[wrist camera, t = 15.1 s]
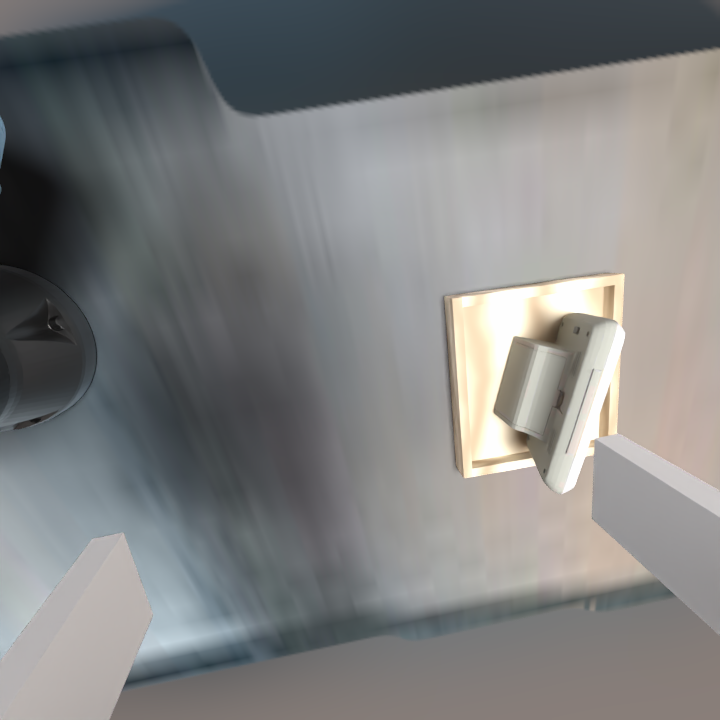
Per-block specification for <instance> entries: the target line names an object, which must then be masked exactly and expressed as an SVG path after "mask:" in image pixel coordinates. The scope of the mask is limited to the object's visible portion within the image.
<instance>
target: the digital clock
mask: <svg viewBox="0 0 720 720" xmlns="http://www.w3.org/2000/svg"><path fill="white" fill-rule="evenodd" d="M624 339H625V331H624V330H623V329H622V327H621V326H620V325H619V324H618V322H617V321H615V320H612V319H608V318H604V317H599V316H594V315H589V314H585V313H572V314H569V315H567V316H565V317H564V318H563V319H562V321H561V324H560V327H559V330H558V334H557V337H556V340H555V343H554V342H548V341H542V340H536V339H530V338H524V337H518V336H515V337H514V339H513V343H512V347H511V350H510V354H509V358H508V361H507V365H506V369H505V372H504V376H503V380H502V383H501V387H500V391H499V394H498V398H497V402H496V405H495V409H494V414H496V415H497V416H498V417H499V418H500V419H501V420H503V421H504V422H505V423H506V424H507V425H509V426H510V427H511V428H513V429H515V430H518V431H522V432H525V433H527V434H528V435H527V439H526V443H527V446H528V449H529V451H530V453H531V455H532V458H533V460H534V462H535V464H536V467H537V469H538V471H539V473H540V475H541V477H542V479H543V481H544V482H545V484H546V485H547V486H548V487H549V488H550V489H551V490H552V491H554V492H555V493H558V494H563V493H565V492H567V491H569V490H571V489H573V488H574V486H575V484H576V481H577V478H578V476H579V473H580V470H581V467H582V464H583V461H584V458H585V455H586V452H587V449H588V446H589V444H590V441H591V438H592V435H593V432H594V429H595V426H596V423H597V420H598V417H599V414H600V411H601V408H602V405H603V402H604V399H605V396H606V393H607V390H608V388H609V385H610V382H611V379H612V376H613V373H614V370H615V367H616V364H617V361H618V358H619V355H620V352H621V349H622V345H623V342H624Z"/></svg>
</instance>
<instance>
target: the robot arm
mask: <svg viewBox="0 0 720 720" xmlns="http://www.w3.org/2000/svg"><path fill="white" fill-rule="evenodd" d="M5 139H6V131H5V126H4V123H3V121H2V118H1V116H0V167H1V162H2V156H3V150H4V145H5ZM0 193H1V185H0ZM95 366H96V347H95V341H94V338H93V334H92V331H91V329H90V326H89V324H88V322H87V320H86V318H85V317H84V315H83V314H82V312H81V311H80V309H79V308H78V307H77V305H76V304H75V303H74V302H73V301H72V300H71V299H70V298H69V297H68V296H67V295H66V294H65V293H64V292H63V291H62V290H60V289H59V288H58V287H56V286H55V285H54V284H52V283H51V282H49V281H47V280H46V279H44V278H42V277H40V276H38V275H36V274H34V273H31V272H29V271H26V270H23V269H19V268H15V267H11V266H5V265H0V432H2V431H9V430H15V429H22V428H27V427H31V426H34V425H37V424H40V423H43V422H45V421H47V420H49V419H51V418H53V417H55V416H57V415H58V414H60V413H62V412H63V411H65V410H67V409H68V408H70V407H71V406H72V405H74V404H75V403H76V402H77V401H78V400H79V399H80V398H81V397H82V396H83V394H84V393H85V392H86V390H87V389H88V387H89V385H90V383H91V381H92V378H93V375H94V371H95ZM592 519H593V520H594V521H595V522H596V523H597V524H598V525H599V526H601V527H602V528H603V529H604V530H605V531H606V532H607V533H608V534H609V535H610V536H611V537H613V538H614V539H615V540H616V541H617V542H618V543H619V544H620V545H621V546H622V547H623V548H625V549H626V550H627V551H628V552H629V553H630V554H631V555H632V556H633V557H634V558H635V559H637V560H638V561H639V562H640V563H641V564H642V565H643V566H644V567H645V568H646V569H647V570H649V571H650V572H651V573H652V574H653V575H654V576H655V577H656V578H657V579H658V580H660V581H661V582H662V583H663V584H664V585H665V586H666V587H667V588H668V589H669V590H670V591H672V592H673V593H674V594H675V595H676V596H677V597H678V598H679V599H680V600H681V601H682V602H684V603H685V604H686V605H687V606H688V607H689V608H690V609H691V610H692V611H693V612H694V613H696V614H697V615H698V616H699V617H700V618H701V619H702V620H703V621H704V622H705V623H706V624H708V625H709V626H710V627H711V628H712V629H713V630H714V631H715V632H716V633H717V634H719V635H720V491H719V490H718V489H716V488H714V487H712V486H711V485H709V484H707V483H705V482H704V481H702V480H700V479H698V478H696V477H695V476H693V475H691V474H689V473H688V472H686V471H684V470H682V469H681V468H679V467H677V466H675V465H673V464H672V463H670V462H668V461H666V460H665V459H663V458H661V457H659V456H658V455H656V454H654V453H652V452H651V451H649V450H647V449H645V448H643V447H642V446H640V445H638V444H636V443H635V442H633V441H631V440H629V439H628V438H626V437H624V436H622V435H621V434H614V435H609V436H604V437H599V438H595V441H594V470H593V498H592ZM152 617H153V613H152V610H151V607H150V604H149V602H148V599H147V596H146V593H145V591H144V588H143V585H142V582H141V580H140V577H139V574H138V571H137V569H136V566H135V563H134V560H133V558H132V555H131V552H130V549H129V546H128V544H127V541H126V538H125V535H124V533H118V534H113V535H108V536H103V537H98V538H93V539H92V540H91V541H90V542H89V544H88V545H87V546H86V548H85V549H84V550H83V552H82V553H81V554H80V556H79V557H78V558H77V560H76V561H75V562H74V564H73V565H72V566H71V568H70V569H69V570H68V572H67V573H66V574H65V576H64V577H63V578H62V580H61V581H60V582H59V584H58V585H57V586H56V588H55V589H54V590H53V592H52V593H51V594H50V596H49V597H48V598H47V600H46V601H45V602H44V604H43V605H42V606H41V608H40V609H39V610H38V612H37V613H36V614H35V615H34V617H33V618H32V619H31V621H30V622H29V623H28V625H27V626H26V627H25V629H24V630H23V631H22V633H21V634H20V635H19V637H18V638H17V639H16V641H15V642H14V643H13V645H12V646H11V647H10V649H9V650H8V651H7V653H6V654H5V655H4V657H3V658H2V659H1V661H0V720H109V719H110V717H111V714H112V712H113V710H114V707H115V705H116V703H117V700H118V698H119V695H120V693H121V691H122V688H123V686H124V684H125V681H126V679H127V676H128V674H129V672H130V669H131V667H132V665H133V662H134V660H135V657H136V655H137V653H138V650H139V648H140V646H141V643H142V641H143V639H144V636H145V634H146V631H147V629H148V627H149V624H150V622H151V620H152Z"/></svg>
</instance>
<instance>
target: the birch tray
mask: <svg viewBox="0 0 720 720" xmlns="http://www.w3.org/2000/svg"><path fill="white" fill-rule="evenodd" d="M623 293H624V274H618V273H603V274H596V275H589V276H582V277H575V278H568V279H561V280H554V281H547V282H540V283H534V284H527V285H520V286H513V287H506V288H499V289H492V290H485V291H478V292H471V293H464V294H457V295H450V296H444V302H445V316H446V330H447V344H448V358H449V373H450V387H451V401H452V415H453V429H454V443H455V457H456V467H457V469H458V470H459V472H460V473H461V475H462V476H463V477H464V478H469V477H474V476H480V475H485V474H491V473H496V472H502V471H508V470H513V469H519V468H524V467H530V466H535V465H536V464H535V462H534V460H533V458H532V455H531V453H530V451H529V449H528V446H527V443H526V439H527V435H528V434H527V433H525V432H522V431H518V430H515V429H513V428H511V427H510V426H509V425H507V424H506V423H505V422H504V421H503V420H501V419H500V418H499V417H498V416H497V415H496V414H494V409H495V405H496V402H497V398H498V394H499V391H500V387H501V383H502V380H503V376H504V372H505V369H506V365H507V361H508V358H509V354H510V350H511V347H512V343H513V339H514V337H515V336H518V337H524V338H530V339H536V340H542V341H548V342H554V343H555V340H556V337H557V334H558V330H559V327H560V324H561V321H562V319H563V318H564V317H565V316H567V315H569V314H572V313H585V314H589V315H594V316H599V317H604V318H608V319H612V320H615V321H617V322H618V324H619V325H620V326H621V327H622V313H623ZM620 354H621V352H620ZM619 375H620V355H619V358H618V361H617V364H616V367H615V370H614V373H613V376H612V379H611V382H610V385H609V388H608V390H607V393H606V396H605V399H604V402H603V405H602V408H601V411H600V414H599V417H598V420H597V423H596V426H595V429H594V432H593V435H592V438H591V441H590V444H589V446H588V449H587V452H586V455H585V456H591V455H594V441H595V438H599V437H604V436H609V435H614V434H617V416H618V396H619Z"/></svg>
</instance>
